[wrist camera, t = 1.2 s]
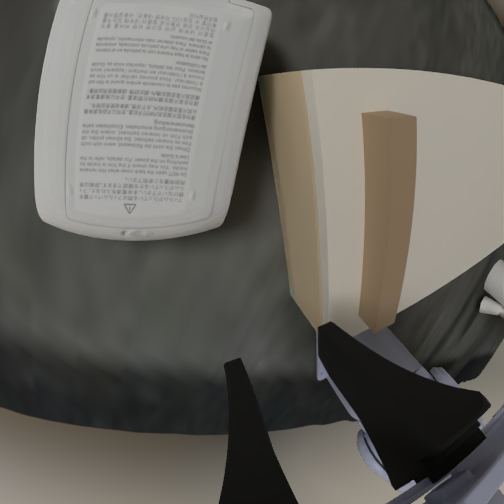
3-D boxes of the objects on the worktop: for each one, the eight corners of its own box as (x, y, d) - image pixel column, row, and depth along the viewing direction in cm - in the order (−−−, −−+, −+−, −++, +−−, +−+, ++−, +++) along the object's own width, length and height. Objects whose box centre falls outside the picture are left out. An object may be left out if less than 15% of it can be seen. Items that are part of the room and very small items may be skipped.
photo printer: (72, 7, 9) (52, 218, 14) (50, -18, 5) (29, 254, 11) (255, 22, 12) (216, 221, 18) (289, 4, 9) (235, 256, 15)
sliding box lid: (508, 231, 23) (524, 242, 21) (322, 340, 19) (341, 368, 17) (526, 91, 15) (546, 98, 12) (301, 70, 10) (338, 68, 8)
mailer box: (476, 212, 28) (506, 230, 24) (290, 294, 23) (320, 337, 19) (485, 81, 19) (523, 90, 15) (257, 76, 14) (298, 71, 10)
